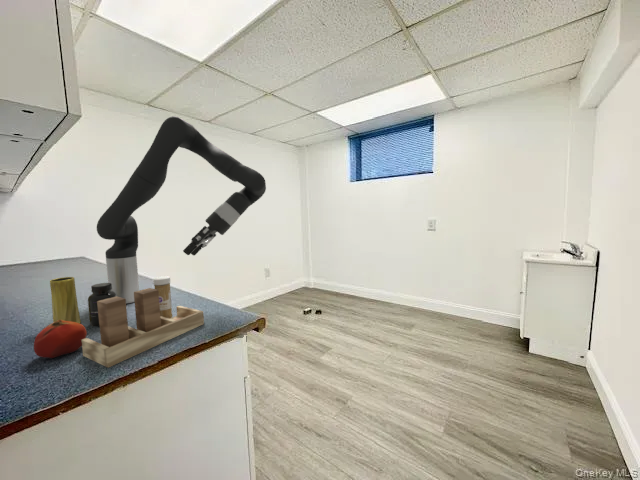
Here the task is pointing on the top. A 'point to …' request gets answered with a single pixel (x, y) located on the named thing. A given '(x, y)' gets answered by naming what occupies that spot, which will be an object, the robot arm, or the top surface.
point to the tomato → (59, 339)
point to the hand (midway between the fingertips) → (188, 253)
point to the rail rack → (150, 327)
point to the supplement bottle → (99, 293)
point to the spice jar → (164, 295)
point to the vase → (64, 300)
